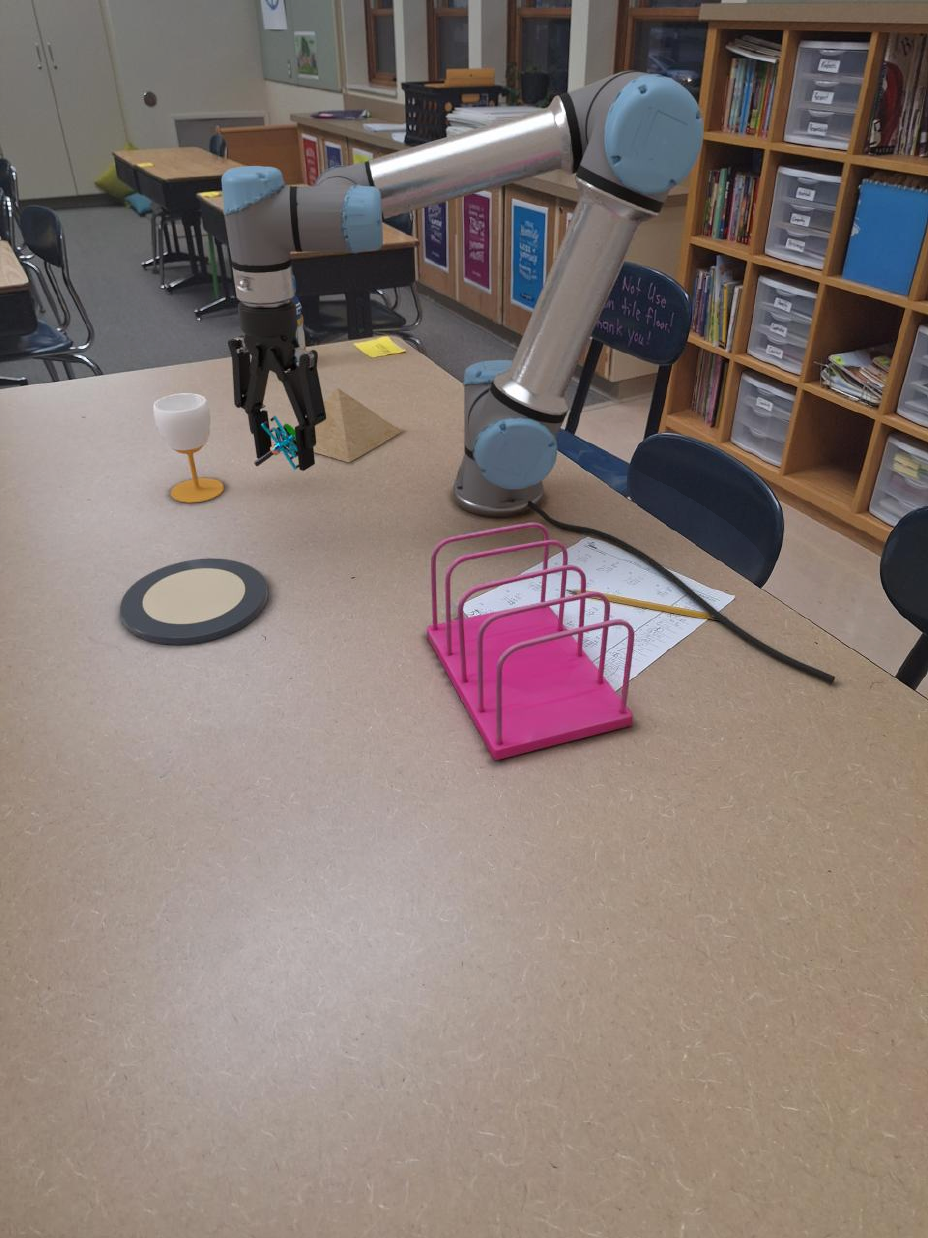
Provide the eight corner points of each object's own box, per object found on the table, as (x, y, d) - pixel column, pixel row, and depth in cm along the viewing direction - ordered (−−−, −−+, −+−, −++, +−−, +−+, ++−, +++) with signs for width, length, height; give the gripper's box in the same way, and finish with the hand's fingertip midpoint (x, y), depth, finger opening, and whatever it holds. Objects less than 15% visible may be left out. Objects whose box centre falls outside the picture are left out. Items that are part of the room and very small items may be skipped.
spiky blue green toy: (304, 463, 120) (269, 416, 119) (265, 491, 122) (230, 445, 120) (319, 451, 132) (288, 408, 130) (284, 477, 133) (252, 435, 131)
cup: (159, 497, 148) (138, 408, 138) (192, 475, 154) (174, 389, 145) (203, 506, 145) (185, 416, 136) (234, 484, 152) (219, 396, 142)
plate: (296, 586, 125) (295, 579, 124) (199, 662, 111) (198, 654, 110) (193, 552, 133) (191, 545, 132) (90, 618, 119) (88, 611, 118)
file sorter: (494, 763, 96) (496, 651, 87) (426, 636, 115) (422, 534, 106) (633, 726, 100) (649, 617, 91) (545, 611, 120) (551, 511, 110)
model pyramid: (404, 430, 170) (402, 381, 165) (349, 463, 159) (344, 411, 153) (338, 413, 178) (334, 366, 172) (281, 443, 166) (274, 392, 160)
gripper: (188, 295, 114) (216, 455, 127) (310, 318, 106) (326, 486, 119) (227, 283, 119) (249, 437, 133) (345, 304, 112) (356, 466, 125)
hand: (285, 460), depth 126 cm, fingers closed on spiky blue green toy, 7 cm apart
